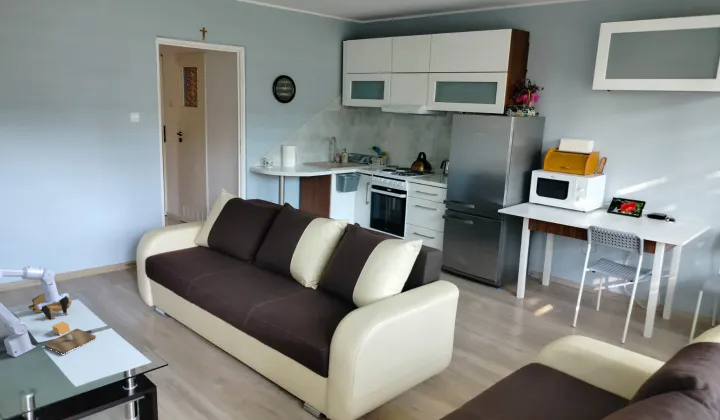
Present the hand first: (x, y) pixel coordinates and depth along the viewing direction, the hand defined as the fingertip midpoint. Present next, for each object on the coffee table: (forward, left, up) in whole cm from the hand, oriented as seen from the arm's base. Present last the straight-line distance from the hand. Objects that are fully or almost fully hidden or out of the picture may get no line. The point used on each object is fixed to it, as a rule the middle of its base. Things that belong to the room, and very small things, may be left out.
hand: (57, 315), depth 254 cm
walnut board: (-4, -15, -9) cm, 18 cm away
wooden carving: (+10, +33, -9) cm, 36 cm away
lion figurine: (+9, +19, -9) cm, 23 cm away
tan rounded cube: (0, 0, -9) cm, 9 cm away
